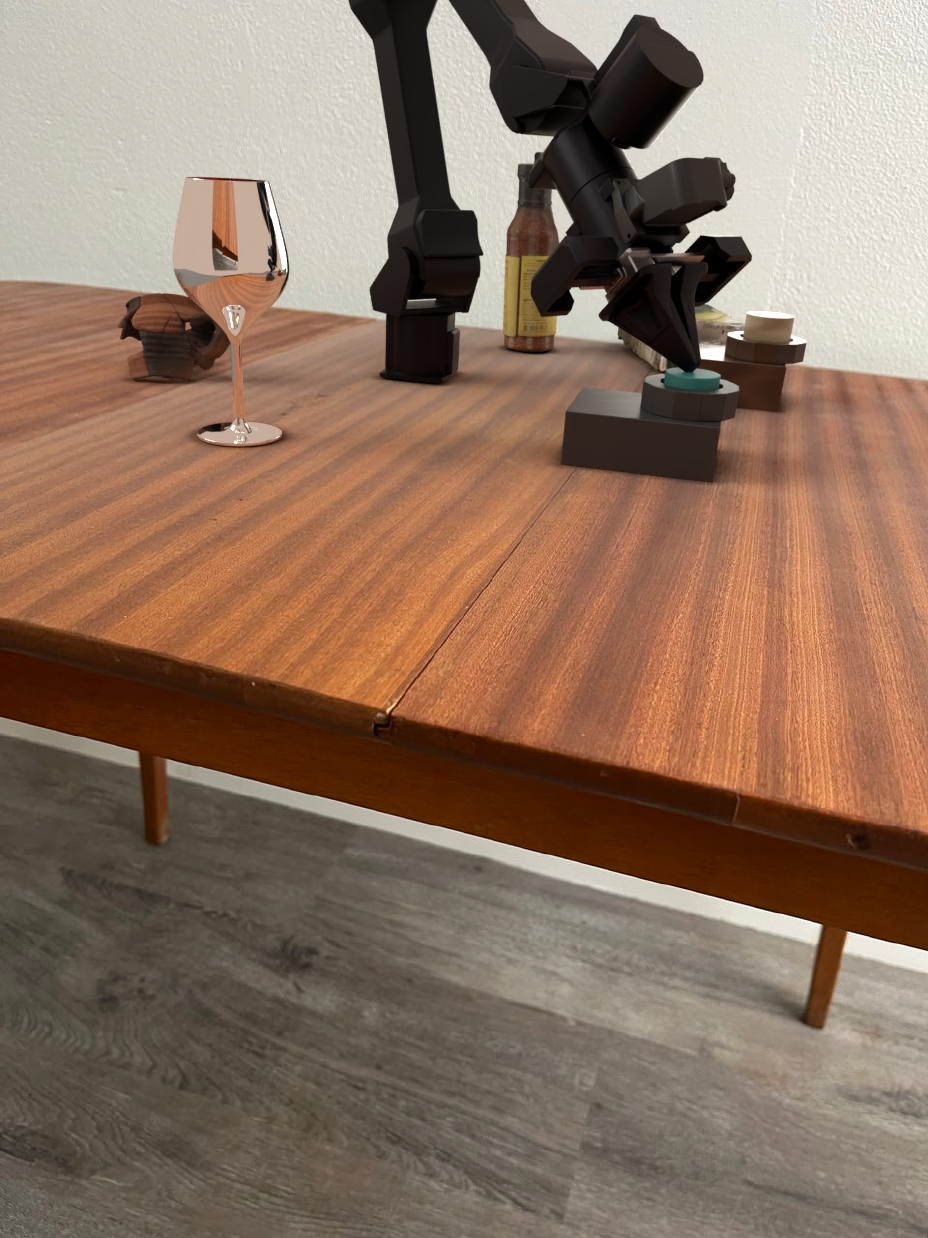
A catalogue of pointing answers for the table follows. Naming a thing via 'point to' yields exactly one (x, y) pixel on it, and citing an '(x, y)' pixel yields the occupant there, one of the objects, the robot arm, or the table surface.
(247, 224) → the wineglass
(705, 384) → the teal button
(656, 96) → the robot arm
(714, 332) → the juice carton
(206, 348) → the pottery mug
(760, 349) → the base
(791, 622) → the table surface
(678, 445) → the dark brown block
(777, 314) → the bell button
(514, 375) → the table surface
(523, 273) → the sauce bottle
